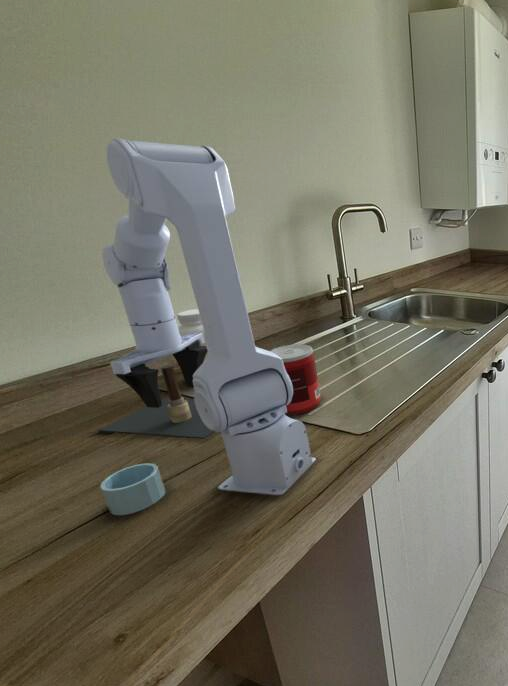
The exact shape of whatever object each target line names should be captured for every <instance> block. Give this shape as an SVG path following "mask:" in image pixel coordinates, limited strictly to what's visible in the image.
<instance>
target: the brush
mask: <svg viewBox="0 0 508 686" xmlns="http://www.w3.org/2000/svg"><path fill="white" fill-rule="evenodd" d="M160 371H161V375H162V379H163V382H164V385H165V389H166V391H167V395H168V398H170V399H169V405H168V406H167V407H168V411H169V414H170V417H171V420H172V422H173V423H180V422H184V421H186V420H188V419H190V418H191V417H192V415H191V412H190V409H189V405H188V402H187V401H186V400H184V399H185V398H184V396H182V393H181V391H180V387H179V383H178V380H177V377H176V373H175V369H174V367H173V365H172V364H166V365H163V366H160Z"/></svg>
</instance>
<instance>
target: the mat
mask: <svg viewBox="0 0 508 686" xmlns="http://www.w3.org/2000/svg"><path fill="white" fill-rule="evenodd" d="M169 399H170V398H169V397H162V398H161V401H162V406H160V407H158V408H152V407H147V406H146V405H145V406H144V407H142V408H139V409H138V410H136V411H133V412H132V413H130V414H128V415H126V416H123V417H122V418H120V419H118V420H116V421H114V422H112V423H109V424H108V425H106V426H104V427H101V428H100V429H98V430H97V432H98V433H100V434H101V433H102V434H113V435H114V434H115V433H124V434H135V435H137V434H138V435H150V436H163V437H164V436H165V437H175V438H176V437H179V438H192V439H206V438H208V437H210V436H211V435H212V434H214V433H216V432H215V431H213V430H210V429H209V428H208V427H207V426H206V425H205V424H204V423H203V421H202V420H201V418H200V416H199V414H198V411H197V409H196V405H195V401H194V398H184V400H186V401H187V402H188V405H189V409H190V412H191V415H192V417H191V418H190V419H188V420H186V421H184V422H180V423H173V422H172V420H171V417H170V414H169V411H168V407H167V406H168V405H169Z"/></svg>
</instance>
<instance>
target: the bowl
mask: <svg viewBox="0 0 508 686" xmlns="http://www.w3.org/2000/svg"><path fill="white" fill-rule="evenodd" d="M99 488H100V492H101V493H102V497H103V498H104V502H105V505H106V506H107V509H108V511H109V513H110V514H112V515H115V516H125V515H132V514H134V513H137V512H140V511H142V510H145V509H147V508H150V507H151V506H153V505H155V504H156V503H157V502H159V501H160V500H161V499H162V498H163V497H164V496H165V494H166V487H165V484H164V481H163V478H162V475H161V472H160V469H159V466H158V465H157V464H155V463H149V462H145V463H139V464H133V465H131V466H127V467H125V468H121V469H120V470H117V471H116V472H113V473H111V475H109V476H107V477H106V478H105V479H103V481H102V482H100V486H99Z"/></svg>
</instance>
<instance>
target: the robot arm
mask: <svg viewBox="0 0 508 686" xmlns="http://www.w3.org/2000/svg"><path fill="white" fill-rule="evenodd" d="M106 161H107V166H108V169H109V173H110V176H111V179H112V181H113V183H114V185H115V187H116V188H117V190H118V191H119V192H120V193H121V194H122V195H123V196H124V197H125V198H126V199H128V214H126V215H124V216H122V217H121V218H119V220H118V221H117V222H116V225H115V226H116V227H115V233H114V238H113V239H114V240H113V244H107V246H102V248H101V249H102V250H101V257H102V262H103V265H104V269H105V271H106V274H107V275H108V277H109V279H110V280H111V282H112V284H114V285H115V286H117V289H118V293H119V295H120V298H121V302H122V304H123V307H124V311H125V314H126V317H127V320H128V323H129V327H130V329H131V332H132V335H133V339H134V342H135V345H136V346H135V347H134V350H132V351H131V352H128V353H126V354H125V355H123V356H121V357H119V358H117V359H115V360H112V361H110V362H109V365H110V367H111V370H112V373H113V374H114V375H115V376H116V377H117V378H118V379H120V381H122V382H124V383H126V384H127V386H129V387H130V388H131V389H132V390H133V391H134V392H135V393H136V394H137V396H139V398H140V399H141V400H142V402H143V403H144V404H145V407H146V406H147V407H152V408H158V407H160V406H162V401H161V399H162V398H161V397H162V396H161V392H160V390H159V382H158V381H159V380H158V379H159V378H158V377H159V369H158V368H150V367H149V366H147V365H148V364H150V363H154V362H156V361H158V360H161V359H164V358H166V357H169V356H173V358H174V359H175V361H176V363H177V364H178V366H179V368H180V371H181V373H182V377H183V380H184V382H185V384H186V386H187V388H193V391H194V395H193V399H194V401H195V405H196V409H197V411H198V414H199V416H200V418H201V420H202V421H203V423H204V424H205V425H206V426H207V427H208V428H209V429H210V430H213V431H215V432H214V433H220V434H221V438H222V441H223V445H224V449H225V452H226V456H227V460H228V463H229V464H228V465H229V468H230V471H231V475H230V476H229V477H228V478H226V479H225V480H224V481H223V482H221V484H219V486H217V489H218V490H219V491H226V492H237V493H238V492H239V493H247V494H248V493H250V494H258V495H259V494H260V495H270V496H283V495H284V494H285V493H286V492H287V491H288V490H289V489H290V488H291V487H292V486H293V485H294V484H295V483H296V482H297V481H298V480H299V478H300V477H301V476H302V475H304V473H305V472H306V471H307V470H308V469H309V468H310V467H311V466H312V465H314V463H315V462H316V460H317V459H316V457H314V456H313V457H312V452H311V448H310V447H311V446H310V442H309V436H308V430H307V428H306V425H305V424H304V423H303V421H301V420H298V419H294V418H291V417H289V416H287V414H285V413H287V408H286V405H288V404H289V403H290V402H291V400H292V396H293V386H292V382H291V380H290V378H289V376H288V374H287V372H286V370H285V367H284V364H283V361H282V359H281V358H280V357H279V356H278V355H276V354H275V353H272V352H270V351H271V350H267V349H264V348H261V347H259V346H256V344H255V338H254V335H253V331H252V326H251V322H250V317H249V313H248V310H247V304H246V300H245V296H244V292H243V291H244V290H243V287H242V283H241V277H240V275H239V270H238V266H237V262H236V257H235V253H234V248H233V243H232V240H231V235H230V231H229V226H228V222H227V216H229V215H230V214H232V213H234V212H235V211H236V204H235V197H234V193H233V188H232V184H231V183H232V182H231V179H230V173H229V170H228V166H227V164H226V162H225V160H223V158H222V157H221V156H220V155H219V154H218V152H217V151H216V150H215V149H213V148H212V147H211V146H209V145H200V146H199V145H197V146H196V145H187V144H173V143H161V142H152V141H139V140H128V139H124V138H120V137H113V138H112V139H111V140H110V142H109V143H108V144H107V145H106ZM167 221H169V222H170V223H171V224H172V225H173V226H174V227H175V229H176V231H177V235H178V239H179V244H180V247H181V251H182V254H183V257H184V261H185V265H186V269H187V272H188V277H189V280H190V284H191V287H192V291H193V295H194V299H195V302H196V306H197V309H198V310H199V314H200V318H201V321H202V325H203V329H204V333H205V336H206V340H207V344H208V347H209V351H210V355H209V357H208V358H207V359H206V360H205V361H204V358H205V356H206V354H207V352H208V350H207V347H206V346H200V344H203V343H205V341H204V337H203V333H191V334H187V335H184V336H180V333H179V329H178V327H179V326H178V322H177V318H176V315H175V312H174V311H175V310H174V308H173V304H172V301H171V297H170V294H169V291H171V284H170V278H169V275H170V273H169V272H170V271H169V266H168V262H167V260H166V257H165V256H166V253H167V250H168V246H169V243H170V240H171V233H170V230H169V228H168V227H167V225H166V223H167Z"/></svg>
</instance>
